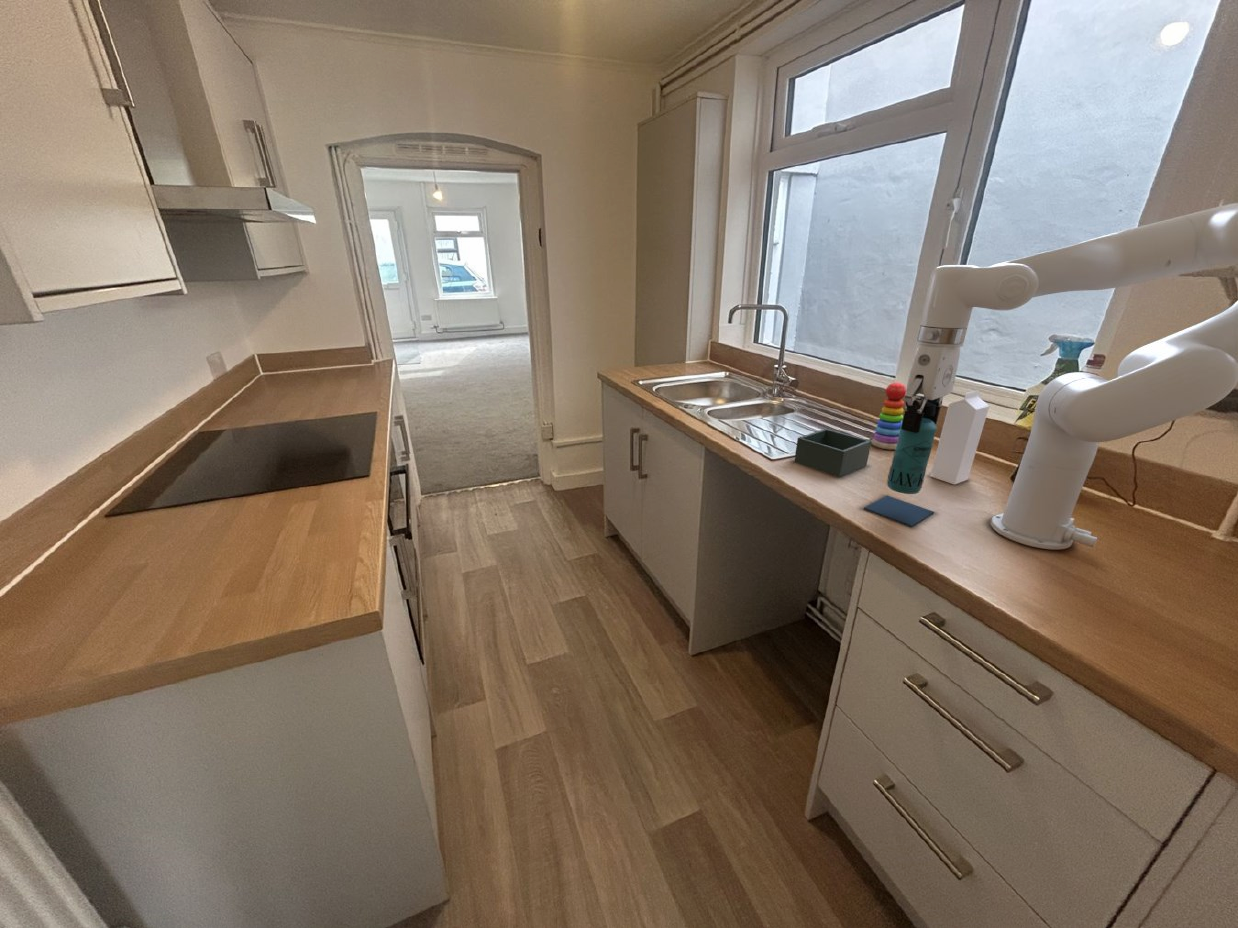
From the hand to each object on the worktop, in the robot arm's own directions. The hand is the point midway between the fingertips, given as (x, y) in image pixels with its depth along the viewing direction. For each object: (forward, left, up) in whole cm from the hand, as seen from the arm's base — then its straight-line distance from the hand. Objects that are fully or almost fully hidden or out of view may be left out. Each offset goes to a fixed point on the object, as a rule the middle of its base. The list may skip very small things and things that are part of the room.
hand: (918, 426), depth 97 cm
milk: (+1, -28, -19) cm, 34 cm away
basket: (+24, -13, -19) cm, 33 cm away
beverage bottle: (0, 0, -15) cm, 15 cm away
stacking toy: (+22, -39, -19) cm, 49 cm away
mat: (0, 0, -19) cm, 19 cm away
